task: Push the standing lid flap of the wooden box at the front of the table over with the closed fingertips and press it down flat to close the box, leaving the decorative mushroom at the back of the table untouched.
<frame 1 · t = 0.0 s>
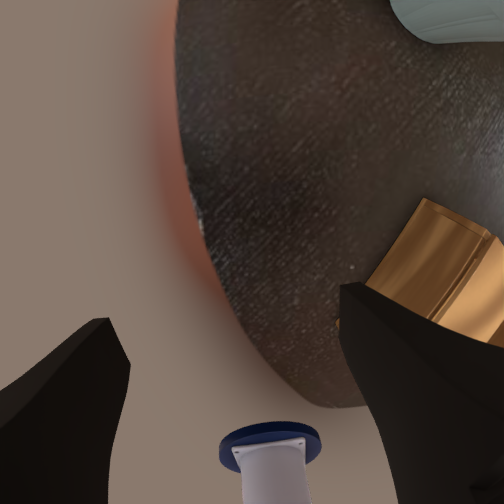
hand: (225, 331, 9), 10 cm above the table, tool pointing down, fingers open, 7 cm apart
wooden box: (429, 296, 21), on the table
cup: (420, 10, 13), on the table
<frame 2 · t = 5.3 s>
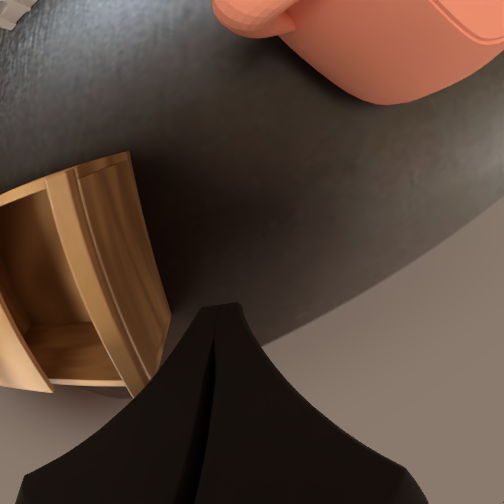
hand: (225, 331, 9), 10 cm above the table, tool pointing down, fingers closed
wooden box: (65, 256, 17), on the table
flap: (125, 347, 8), point 10 cm above the table, hinge at 118.6°, touching gripper
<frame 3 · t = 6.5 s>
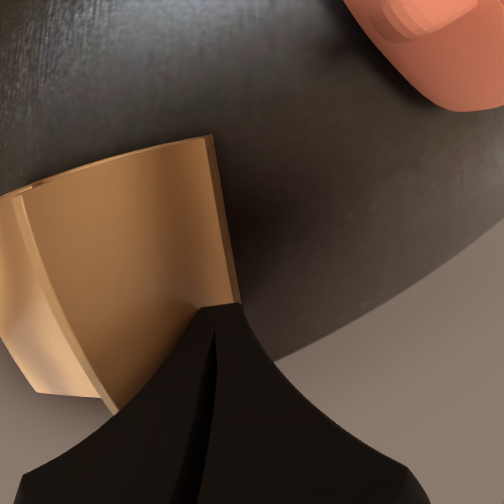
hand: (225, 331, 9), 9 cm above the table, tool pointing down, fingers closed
teapot: (417, 9, 12), on the table
wooden box: (125, 245, 17), on the table
flap: (188, 349, 8), point 10 cm above the table, hinge at 68.7°, touching gripper
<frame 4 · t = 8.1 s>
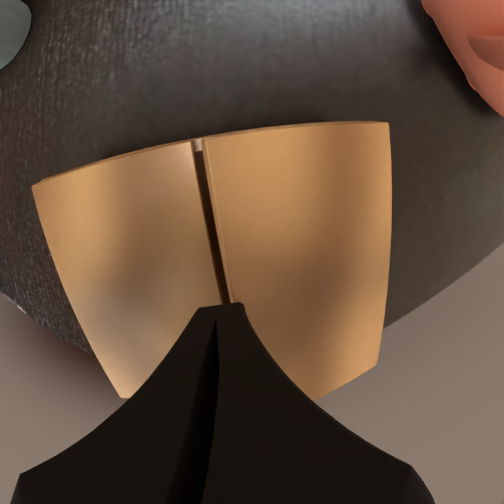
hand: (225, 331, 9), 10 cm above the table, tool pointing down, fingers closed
teapot: (477, 29, 12), on the table
wooden box: (224, 229, 18), on the table
flap: (323, 292, 10), point 8 cm above the table, hinge at 20.1°
cup: (5, 37, 11), on the table
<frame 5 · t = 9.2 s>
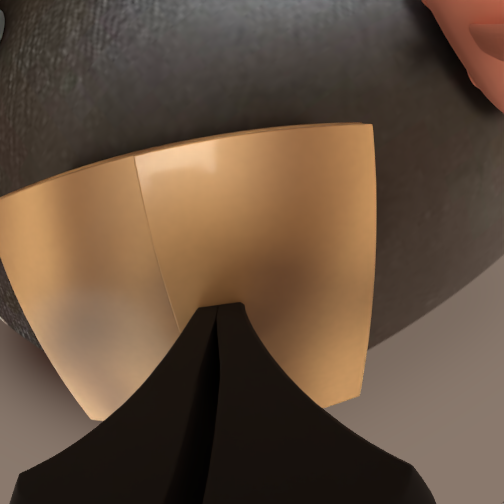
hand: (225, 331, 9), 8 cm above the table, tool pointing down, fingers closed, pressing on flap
teapot: (478, 22, 11), on the table
wooden box: (199, 243, 16), on the table
flap: (282, 315, 9), point 7 cm above the table, hinge at 6.5°, touching gripper
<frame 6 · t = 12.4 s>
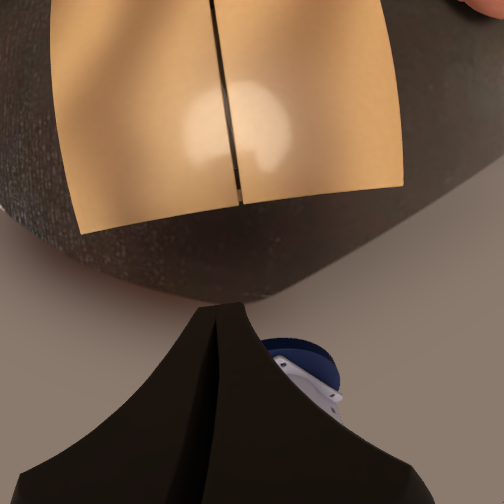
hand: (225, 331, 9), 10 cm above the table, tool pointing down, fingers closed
wooden box: (223, 85, 15), on the table
flap: (311, 48, 9), point 7 cm above the table, hinge at -0.5°
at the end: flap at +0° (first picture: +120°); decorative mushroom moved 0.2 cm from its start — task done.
